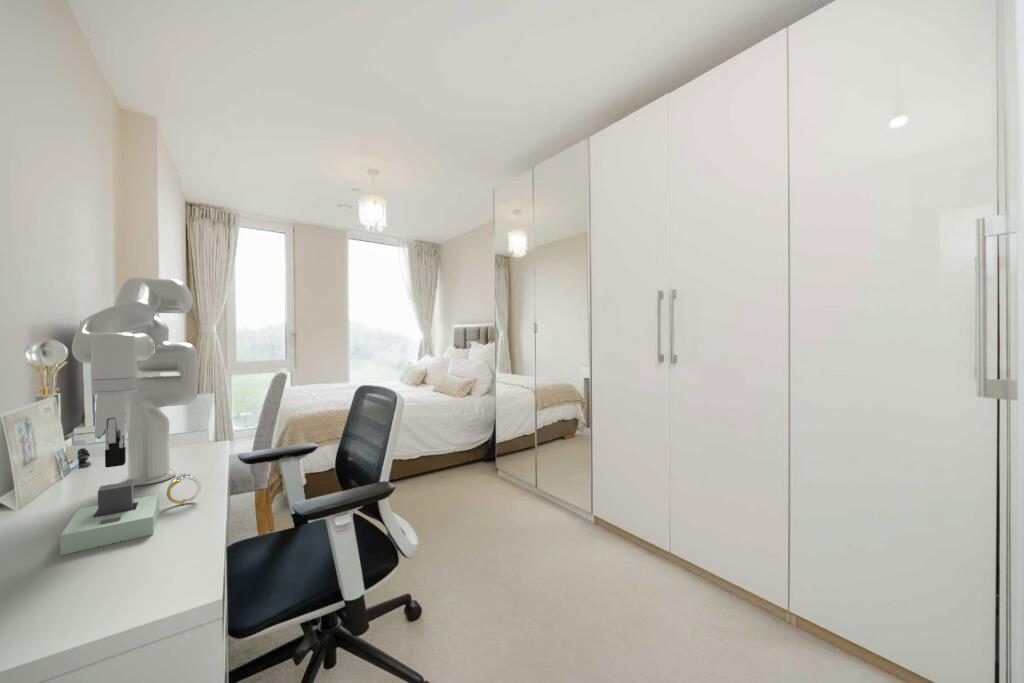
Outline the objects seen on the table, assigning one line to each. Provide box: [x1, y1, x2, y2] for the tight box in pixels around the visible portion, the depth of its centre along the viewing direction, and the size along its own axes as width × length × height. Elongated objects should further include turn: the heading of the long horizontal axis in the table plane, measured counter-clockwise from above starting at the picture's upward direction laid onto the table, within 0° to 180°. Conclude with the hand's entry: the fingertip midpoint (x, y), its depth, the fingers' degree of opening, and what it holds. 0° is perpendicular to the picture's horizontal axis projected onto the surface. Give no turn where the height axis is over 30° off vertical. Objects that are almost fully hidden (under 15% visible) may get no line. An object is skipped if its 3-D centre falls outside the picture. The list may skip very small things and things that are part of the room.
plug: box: [97, 481, 135, 517], centre depth 93 cm, size 4×6×9 cm
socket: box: [59, 494, 160, 556], centre depth 92 cm, size 16×14×5 cm
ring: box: [166, 472, 202, 505], centre depth 106 cm, size 7×3×8 cm, turn 125°
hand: (115, 465), depth 93 cm, fingers closed
